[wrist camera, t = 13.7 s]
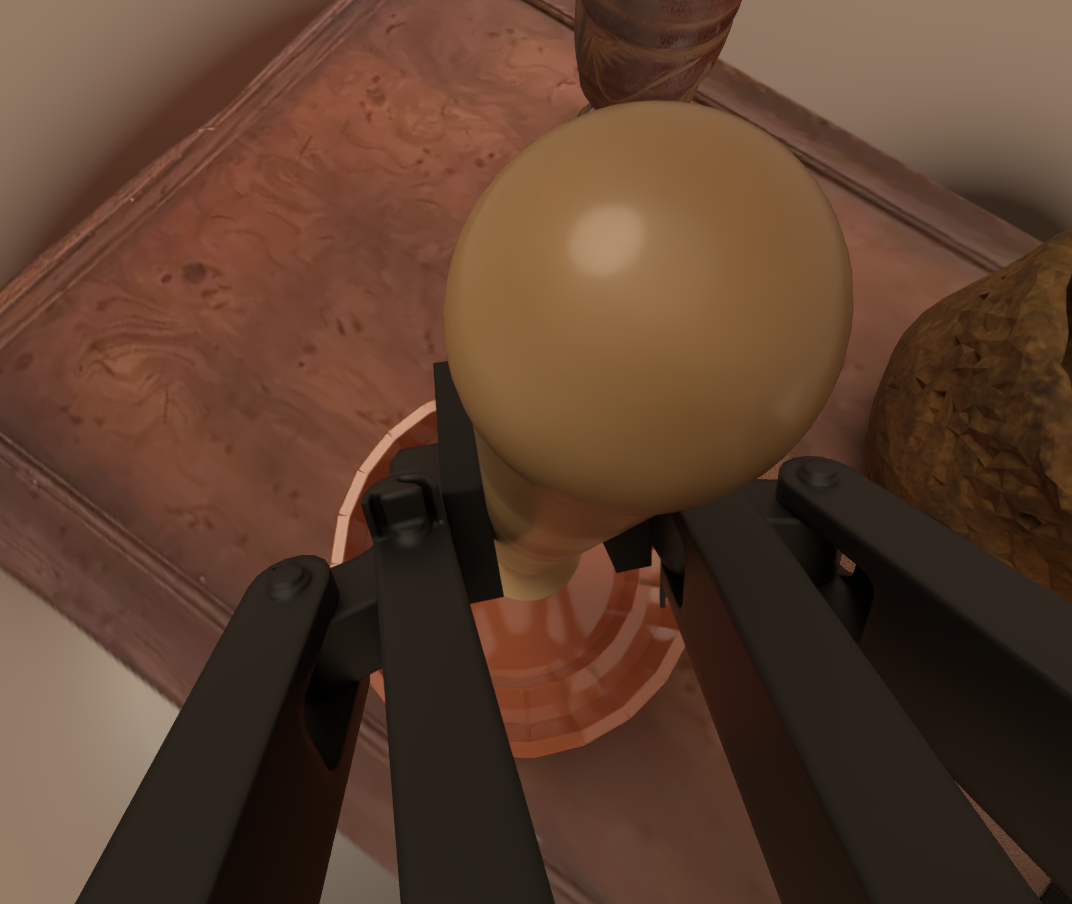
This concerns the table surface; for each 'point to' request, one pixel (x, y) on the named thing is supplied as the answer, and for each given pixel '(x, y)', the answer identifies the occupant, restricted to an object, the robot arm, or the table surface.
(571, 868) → the table surface
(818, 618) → the robot arm
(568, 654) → the mixing bowl
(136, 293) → the table surface
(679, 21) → the mortar and pestle
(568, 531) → the muddler
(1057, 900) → the camera
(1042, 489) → the bowl
